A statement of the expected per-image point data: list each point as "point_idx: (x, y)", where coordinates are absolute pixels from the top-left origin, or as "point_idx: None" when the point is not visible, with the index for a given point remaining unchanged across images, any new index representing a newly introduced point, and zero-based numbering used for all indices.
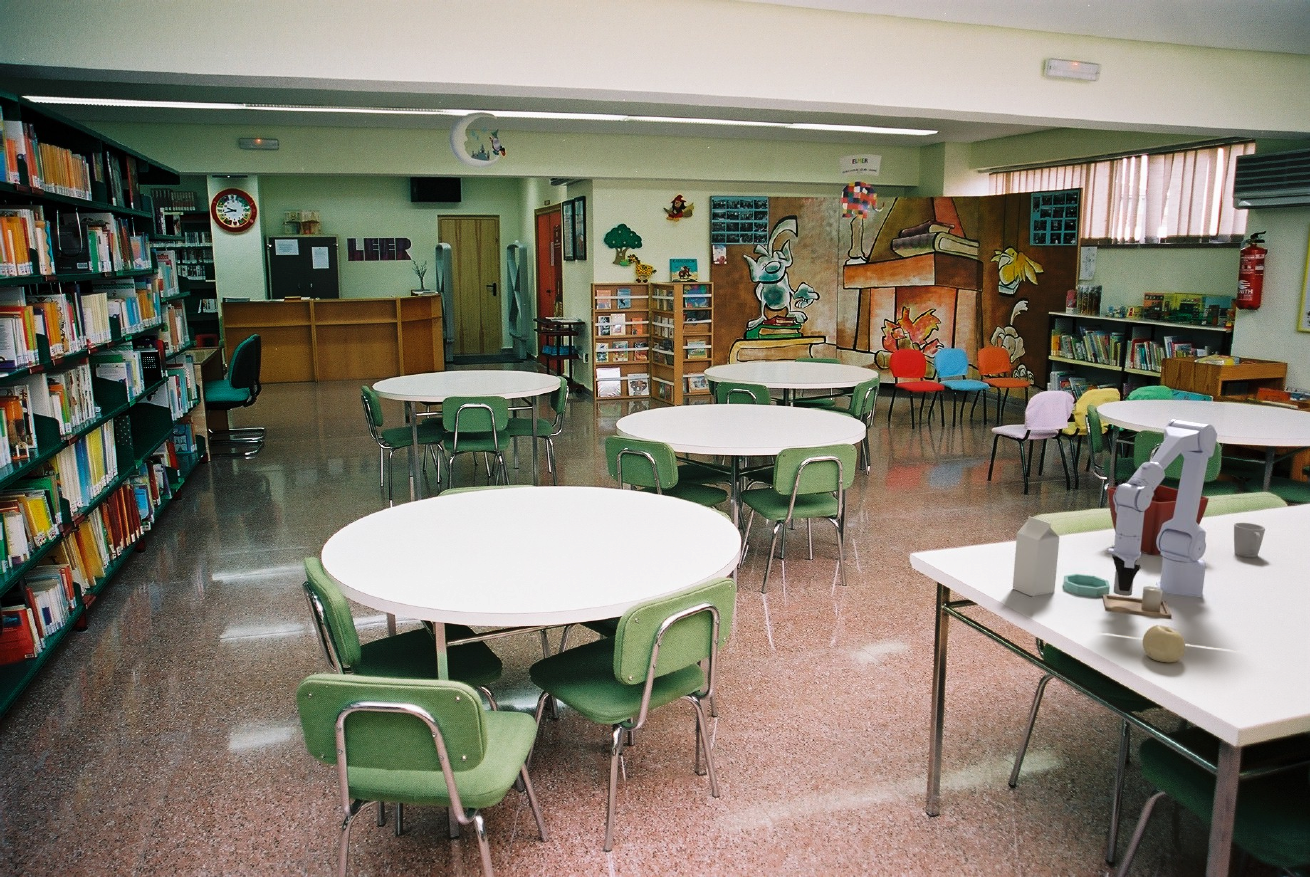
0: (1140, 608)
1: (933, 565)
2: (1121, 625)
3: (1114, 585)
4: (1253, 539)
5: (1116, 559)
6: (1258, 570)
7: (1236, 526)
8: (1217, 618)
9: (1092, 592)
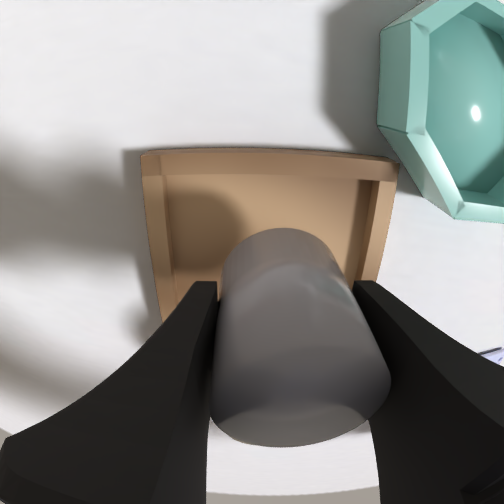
0: None
1: None
2: (21, 219)
3: (280, 256)
4: None
5: (475, 451)
6: None
7: None
8: (261, 448)
9: (393, 104)
